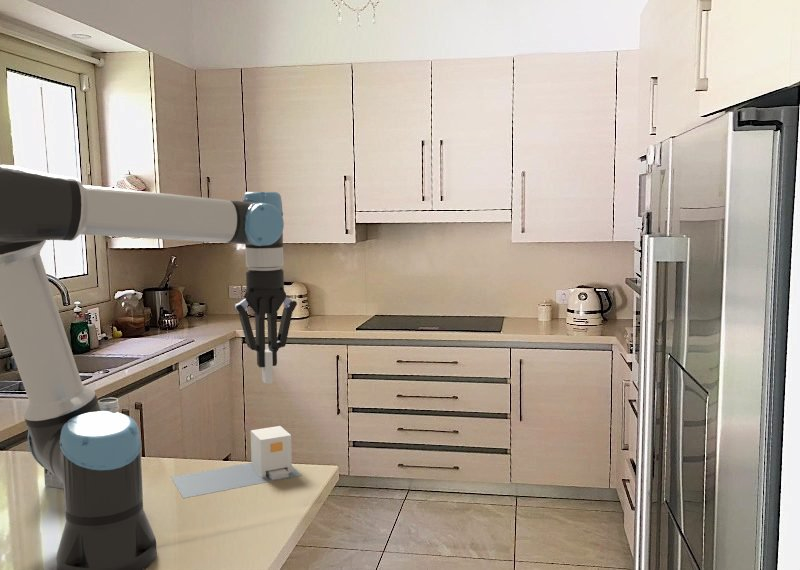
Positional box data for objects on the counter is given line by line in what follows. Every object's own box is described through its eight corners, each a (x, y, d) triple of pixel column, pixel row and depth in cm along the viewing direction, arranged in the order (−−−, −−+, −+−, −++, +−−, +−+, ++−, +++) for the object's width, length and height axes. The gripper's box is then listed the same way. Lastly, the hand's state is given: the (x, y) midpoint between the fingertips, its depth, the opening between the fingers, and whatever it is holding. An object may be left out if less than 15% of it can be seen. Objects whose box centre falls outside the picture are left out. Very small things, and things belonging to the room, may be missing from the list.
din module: (292, 472, 155) (291, 435, 154) (262, 478, 152) (261, 440, 151) (281, 461, 161) (280, 425, 160) (251, 466, 158) (250, 430, 157)
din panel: (302, 482, 154) (302, 470, 154) (183, 505, 143) (183, 493, 142) (282, 463, 164) (282, 452, 164) (171, 484, 153) (170, 472, 153)
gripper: (289, 265, 158) (291, 374, 161) (228, 268, 152) (231, 381, 155) (301, 268, 151) (303, 382, 154) (238, 271, 145) (241, 390, 148)
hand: (267, 381), depth 154 cm, fingers closed
